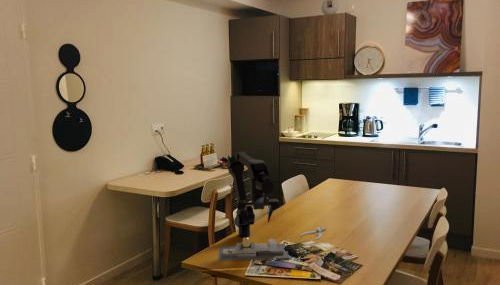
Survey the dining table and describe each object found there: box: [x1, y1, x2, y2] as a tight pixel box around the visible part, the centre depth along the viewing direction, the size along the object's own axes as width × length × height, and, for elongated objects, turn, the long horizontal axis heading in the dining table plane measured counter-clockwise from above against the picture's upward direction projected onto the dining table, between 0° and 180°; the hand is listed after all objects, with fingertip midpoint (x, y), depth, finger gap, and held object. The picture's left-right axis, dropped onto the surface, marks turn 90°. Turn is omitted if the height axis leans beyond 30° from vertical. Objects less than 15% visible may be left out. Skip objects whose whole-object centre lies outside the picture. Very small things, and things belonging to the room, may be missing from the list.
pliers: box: [299, 226, 327, 241], centre depth 203 cm, size 10×2×15 cm
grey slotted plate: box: [223, 247, 284, 258], centre depth 178 cm, size 8×26×2 cm, turn 93°
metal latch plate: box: [236, 238, 278, 254], centre depth 177 cm, size 8×17×3 cm, turn 93°
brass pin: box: [242, 236, 251, 248], centre depth 177 cm, size 3×3×7 cm
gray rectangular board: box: [217, 243, 290, 262], centre depth 180 cm, size 16×30×1 cm, turn 93°
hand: (258, 222), depth 184 cm, fingers open, 9 cm apart
